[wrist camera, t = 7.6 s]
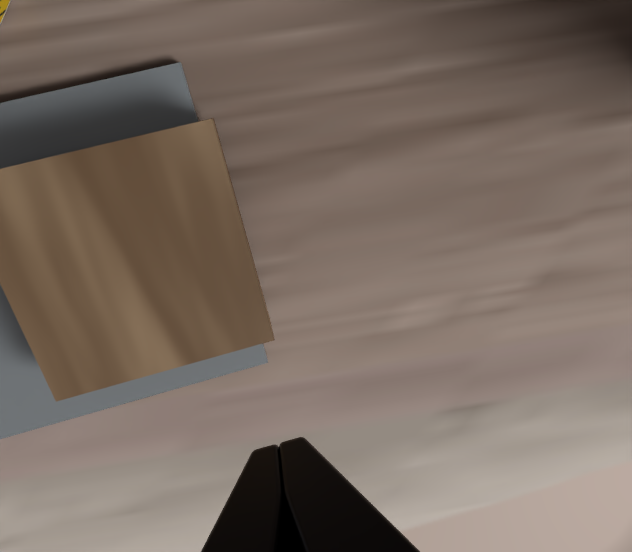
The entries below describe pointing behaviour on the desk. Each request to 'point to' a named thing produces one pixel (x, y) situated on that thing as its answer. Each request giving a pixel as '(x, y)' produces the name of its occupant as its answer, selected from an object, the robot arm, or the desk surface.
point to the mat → (67, 136)
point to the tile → (128, 259)
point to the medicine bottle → (3, 8)
